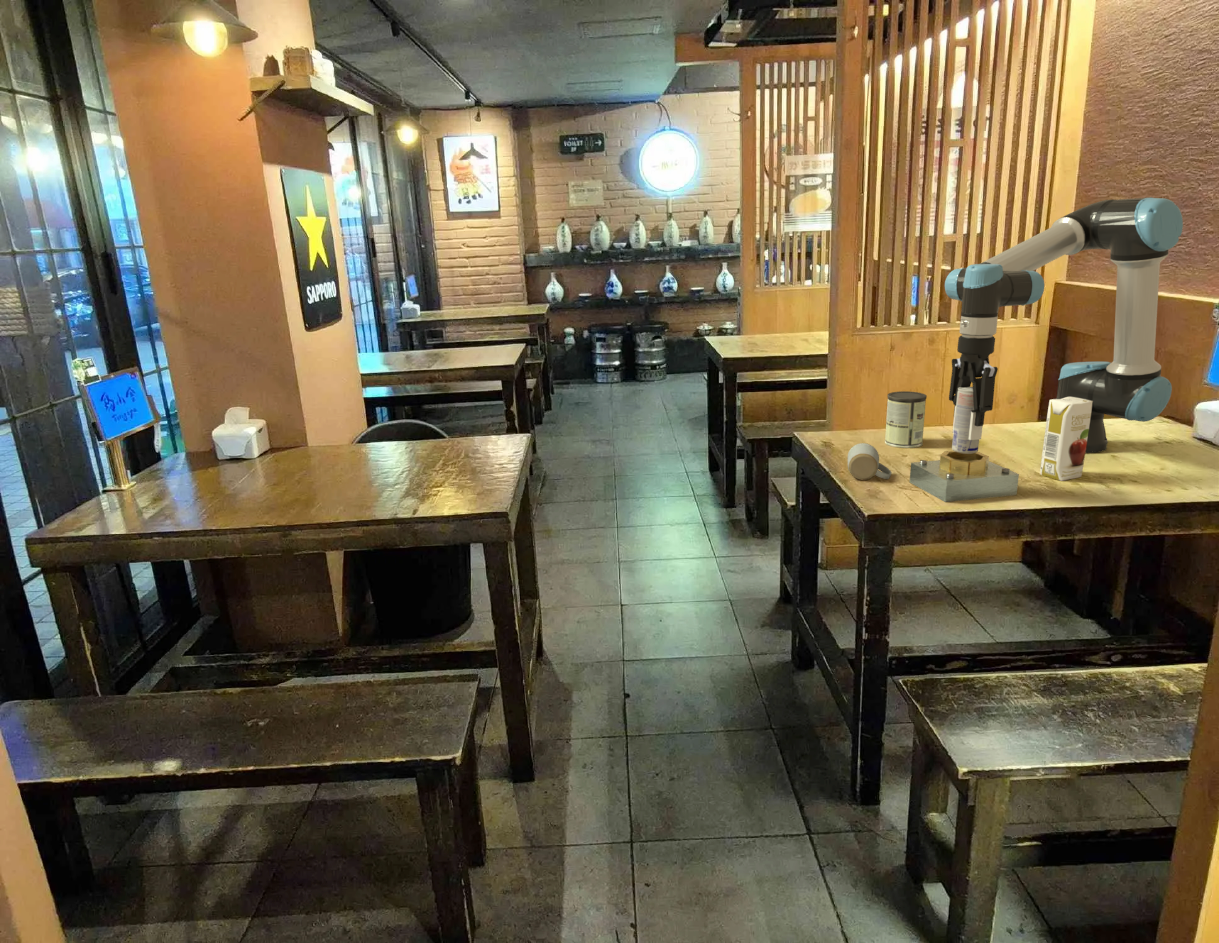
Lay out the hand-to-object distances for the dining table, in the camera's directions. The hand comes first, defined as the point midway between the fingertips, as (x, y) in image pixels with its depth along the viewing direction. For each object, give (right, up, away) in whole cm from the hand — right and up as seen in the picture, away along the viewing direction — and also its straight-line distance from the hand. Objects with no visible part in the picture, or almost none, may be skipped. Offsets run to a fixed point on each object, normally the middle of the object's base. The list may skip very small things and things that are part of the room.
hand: (966, 435), depth 187 cm
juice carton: (+28, -10, +10) cm, 31 cm away
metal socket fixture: (0, -12, +4) cm, 13 cm away
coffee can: (+1, 0, +43) cm, 43 cm away
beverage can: (0, -4, +1) cm, 4 cm away
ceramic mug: (-18, -10, +15) cm, 25 cm away
